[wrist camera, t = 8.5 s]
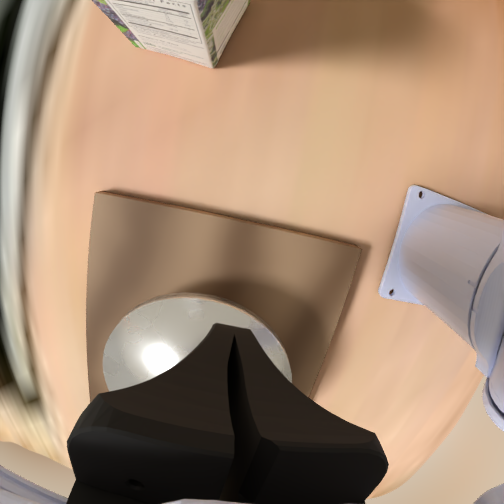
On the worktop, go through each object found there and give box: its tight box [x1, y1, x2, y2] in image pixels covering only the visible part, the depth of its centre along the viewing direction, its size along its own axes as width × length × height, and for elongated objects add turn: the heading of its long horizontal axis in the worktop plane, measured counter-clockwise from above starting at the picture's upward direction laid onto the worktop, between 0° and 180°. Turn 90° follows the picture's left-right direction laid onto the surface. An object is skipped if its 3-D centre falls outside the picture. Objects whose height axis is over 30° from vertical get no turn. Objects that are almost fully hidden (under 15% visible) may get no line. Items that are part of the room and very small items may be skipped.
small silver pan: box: [103, 292, 292, 391], centre depth 20 cm, size 16×12×4 cm
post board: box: [86, 191, 362, 403], centre depth 20 cm, size 17×20×5 cm
